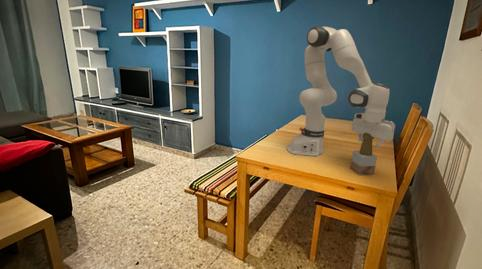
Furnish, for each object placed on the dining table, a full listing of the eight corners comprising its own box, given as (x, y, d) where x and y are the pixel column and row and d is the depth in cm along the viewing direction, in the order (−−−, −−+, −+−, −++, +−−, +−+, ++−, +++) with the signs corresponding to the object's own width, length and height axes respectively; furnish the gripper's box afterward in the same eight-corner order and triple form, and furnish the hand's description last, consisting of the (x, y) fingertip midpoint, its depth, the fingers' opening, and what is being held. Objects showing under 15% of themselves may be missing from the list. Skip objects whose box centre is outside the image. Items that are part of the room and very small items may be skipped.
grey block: (360, 166, 124) (362, 157, 122) (351, 159, 132) (353, 151, 130) (375, 165, 125) (377, 156, 123) (365, 159, 133) (367, 150, 131)
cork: (357, 151, 130) (360, 131, 127) (369, 151, 130) (372, 131, 127) (362, 155, 124) (365, 134, 121) (374, 155, 124) (377, 134, 121)
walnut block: (359, 175, 125) (361, 166, 124) (350, 168, 133) (351, 160, 131) (373, 174, 127) (375, 165, 125) (363, 167, 134) (365, 159, 133)
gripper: (399, 121, 114) (393, 149, 118) (359, 112, 131) (354, 137, 135) (392, 123, 111) (385, 152, 115) (351, 113, 128) (347, 139, 132)
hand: (368, 144), depth 125 cm, fingers open, 8 cm apart
